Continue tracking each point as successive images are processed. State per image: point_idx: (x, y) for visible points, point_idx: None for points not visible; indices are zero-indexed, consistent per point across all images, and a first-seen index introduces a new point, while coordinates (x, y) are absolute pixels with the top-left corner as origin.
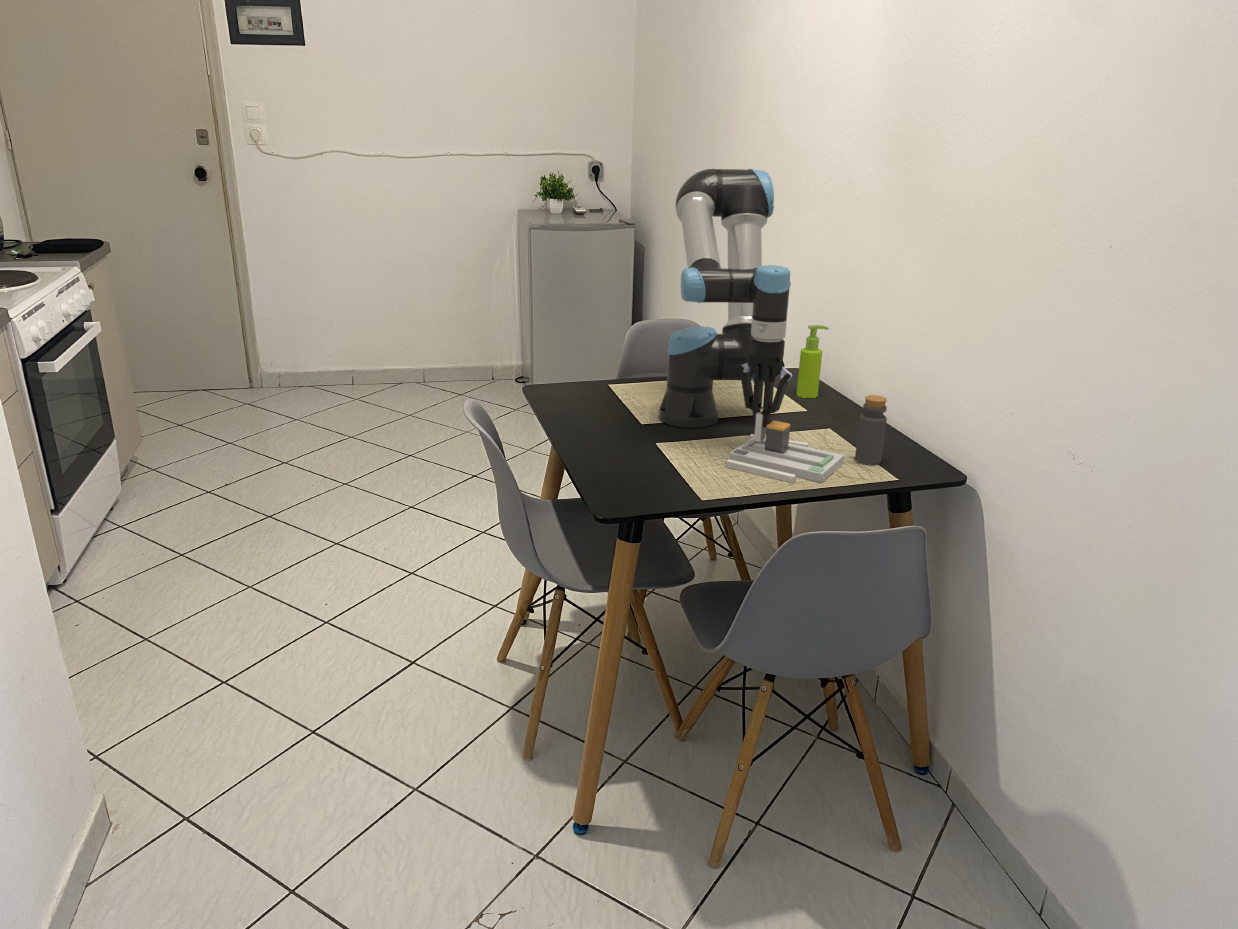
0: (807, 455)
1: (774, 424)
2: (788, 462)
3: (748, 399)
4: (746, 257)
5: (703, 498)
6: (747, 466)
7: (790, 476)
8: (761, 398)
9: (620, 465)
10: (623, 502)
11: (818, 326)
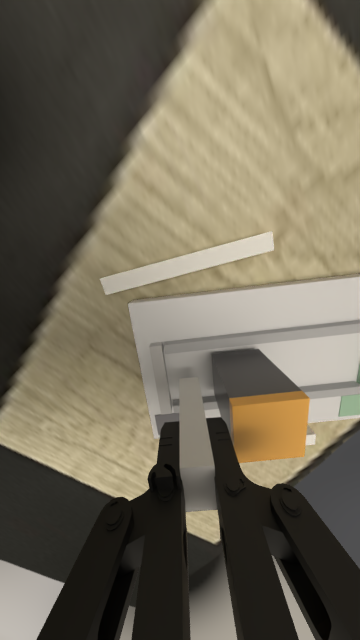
0: (311, 343)
1: (256, 441)
2: None
3: (117, 637)
4: None
5: (213, 539)
6: None
7: (308, 444)
8: (183, 605)
9: (41, 530)
10: None
11: None
